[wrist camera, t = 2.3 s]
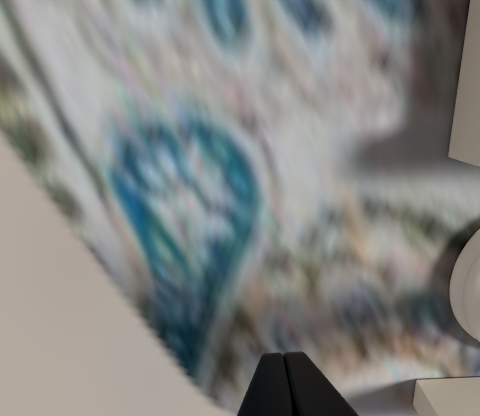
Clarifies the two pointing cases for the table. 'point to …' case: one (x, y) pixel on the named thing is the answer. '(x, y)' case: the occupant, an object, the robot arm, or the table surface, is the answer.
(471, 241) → the chess piece
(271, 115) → the table surface
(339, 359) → the table surface
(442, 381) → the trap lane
